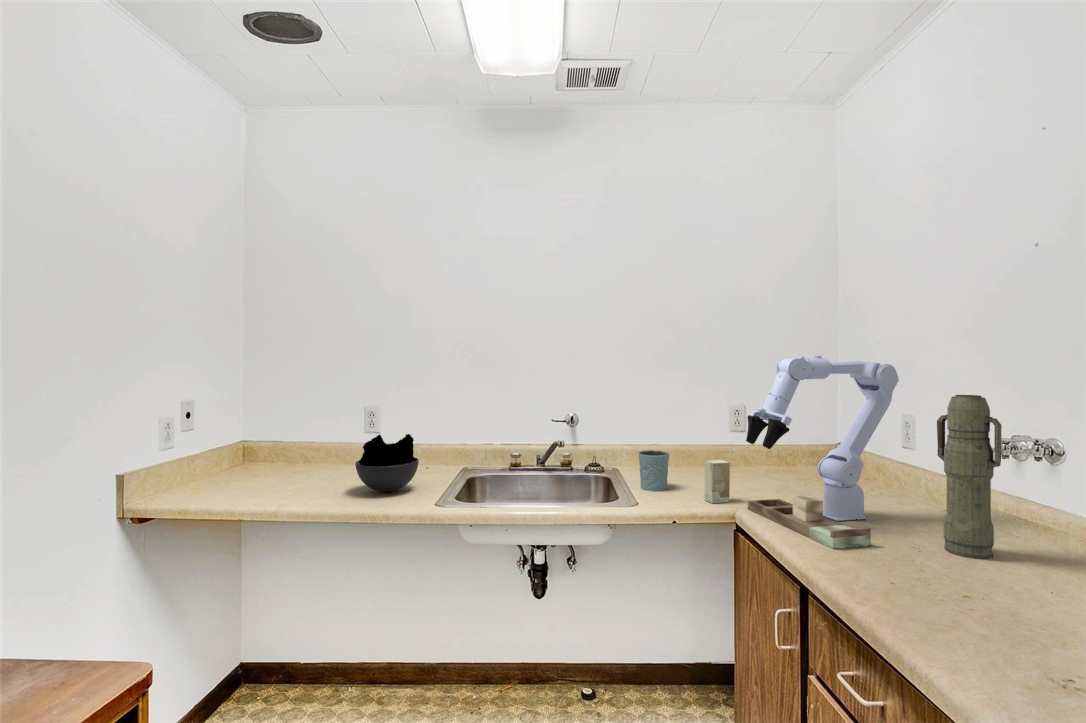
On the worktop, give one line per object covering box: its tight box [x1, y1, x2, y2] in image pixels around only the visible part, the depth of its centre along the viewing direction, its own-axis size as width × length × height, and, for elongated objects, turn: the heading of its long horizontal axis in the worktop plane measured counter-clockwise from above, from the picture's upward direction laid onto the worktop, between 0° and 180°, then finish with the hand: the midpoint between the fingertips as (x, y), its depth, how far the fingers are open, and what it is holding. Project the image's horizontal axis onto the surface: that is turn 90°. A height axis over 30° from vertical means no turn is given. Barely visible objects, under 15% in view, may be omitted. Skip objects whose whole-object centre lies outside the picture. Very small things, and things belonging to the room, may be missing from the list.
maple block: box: [792, 495, 824, 522], centre depth 141 cm, size 5×5×5 cm
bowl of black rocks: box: [355, 433, 420, 493], centre depth 182 cm, size 20×20×19 cm
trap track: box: [747, 498, 872, 550], centre depth 143 cm, size 10×34×4 cm, turn 12°
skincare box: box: [704, 459, 731, 504], centre depth 168 cm, size 6×4×12 cm
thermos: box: [936, 394, 1002, 560], centre depth 123 cm, size 9×12×35 cm
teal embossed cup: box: [637, 449, 670, 492], centre depth 185 cm, size 10×10×12 cm
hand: (757, 445), depth 147 cm, fingers open, 7 cm apart
